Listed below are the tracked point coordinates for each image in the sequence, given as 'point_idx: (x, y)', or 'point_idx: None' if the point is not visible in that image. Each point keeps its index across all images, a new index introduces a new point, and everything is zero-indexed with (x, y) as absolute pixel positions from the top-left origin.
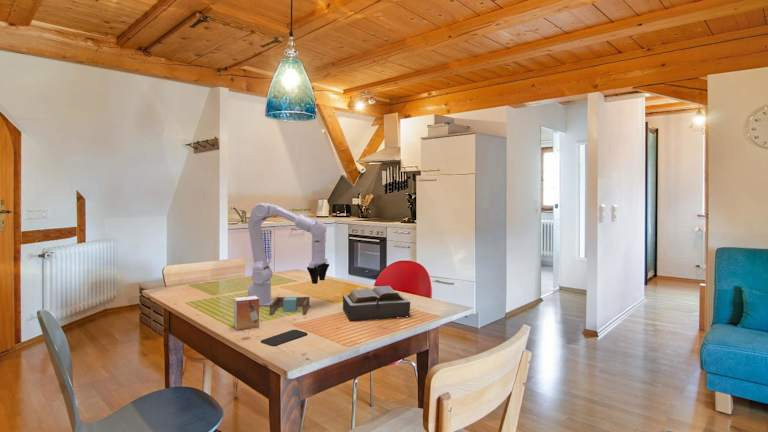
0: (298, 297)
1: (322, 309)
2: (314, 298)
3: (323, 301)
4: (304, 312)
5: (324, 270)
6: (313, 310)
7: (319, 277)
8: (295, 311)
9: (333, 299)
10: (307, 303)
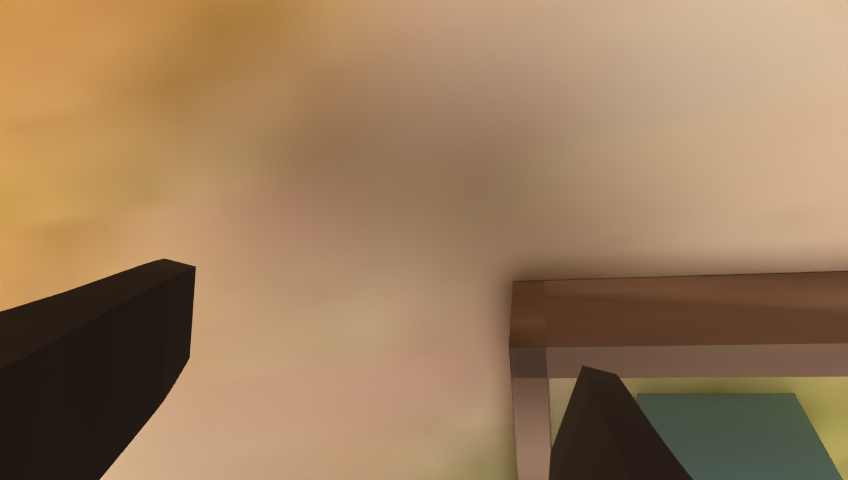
0: None
1: (699, 82)
2: None
3: (251, 144)
4: None
5: (15, 407)
6: (745, 198)
7: (157, 398)
8: (795, 398)
9: (111, 18)
10: (754, 320)
